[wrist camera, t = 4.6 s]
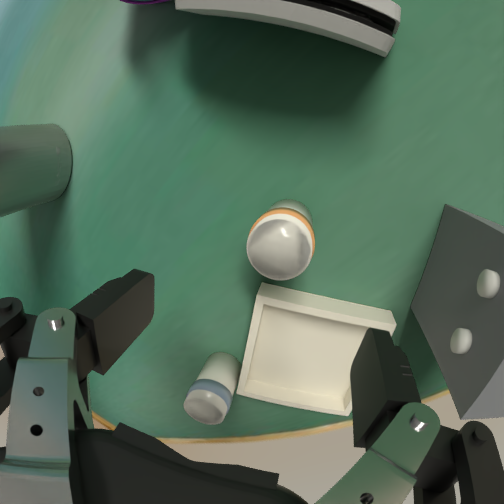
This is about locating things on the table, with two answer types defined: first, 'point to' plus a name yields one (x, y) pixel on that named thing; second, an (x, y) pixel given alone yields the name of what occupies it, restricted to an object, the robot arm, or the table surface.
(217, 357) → the blue-band fuse
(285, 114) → the table surface
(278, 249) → the white orange rounded cylinder
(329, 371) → the parts tray
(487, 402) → the control box
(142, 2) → the pencil case
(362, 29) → the white slotted rounded block
